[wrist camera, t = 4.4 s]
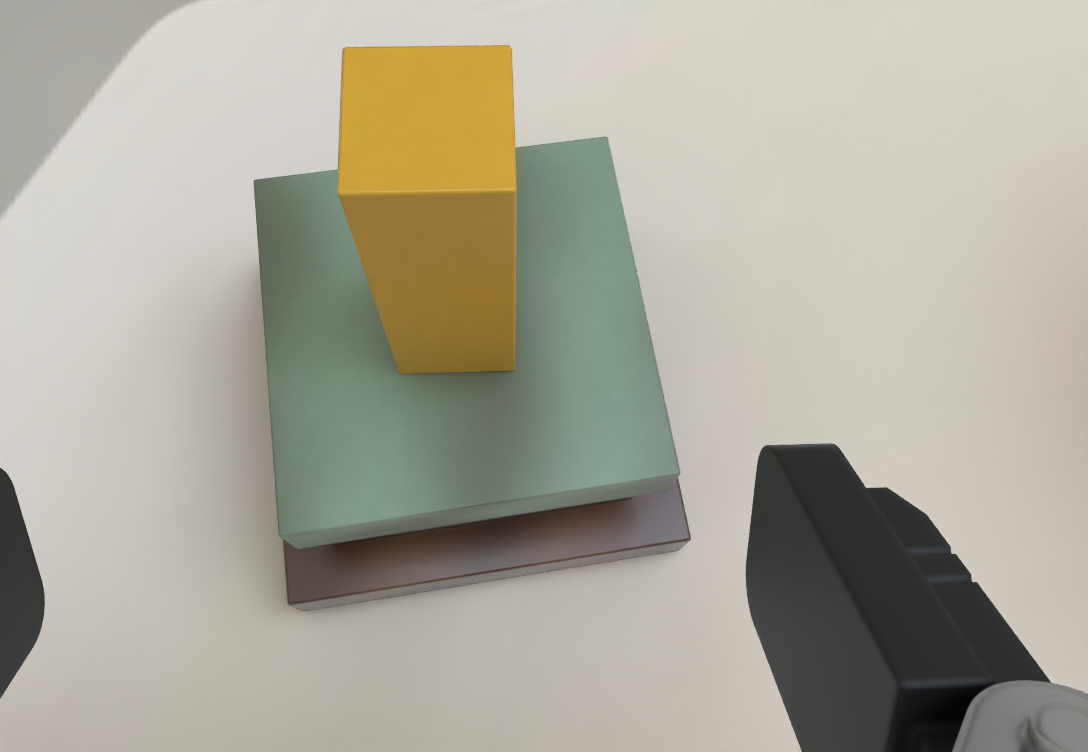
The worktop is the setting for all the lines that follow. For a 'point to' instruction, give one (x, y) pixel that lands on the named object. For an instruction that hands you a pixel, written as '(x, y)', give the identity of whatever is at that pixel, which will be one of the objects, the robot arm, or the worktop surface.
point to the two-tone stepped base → (465, 403)
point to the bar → (434, 199)
